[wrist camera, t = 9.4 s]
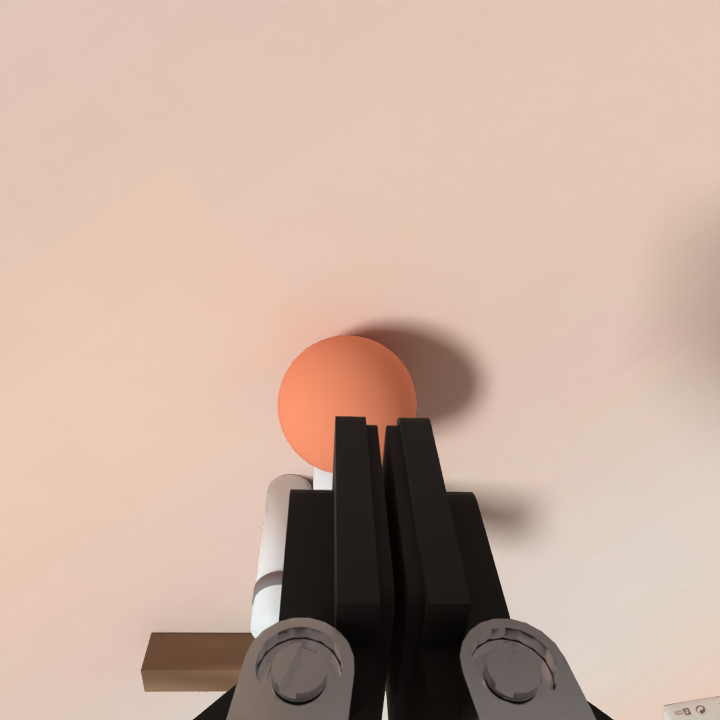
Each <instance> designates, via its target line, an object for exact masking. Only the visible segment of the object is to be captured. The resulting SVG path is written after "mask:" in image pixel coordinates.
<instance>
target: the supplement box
mask: <svg viewBox="0 0 720 720" xmlns="http://www.w3.org/2000/svg"><path fill="white" fill-rule="evenodd" d="M663 720H720V696H718V697H712V698H705V699H700V700H694V701H688V702H682V703H676V704H671V705H666V706H664V707H663Z"/></svg>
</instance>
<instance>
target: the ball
mask: <svg viewBox="0 0 720 720" xmlns="http://www.w3.org/2000/svg"><path fill="white" fill-rule="evenodd" d="M416 411H417V399H416V391H415V388H414V384H413V381H412V378H411V376H410V374H409V372H408V370H407V368H406V367H405V365H404V364H403V363H402V361H401V360H400V359H399V358H398V357H397V356H396V355H395V354H394V353H393V352H392V351H390V350H389V349H388V348H386V347H385V346H383V345H382V344H380V343H378V342H376V341H373V340H371V339H367V338H364V337H359V336H350V335H346V336H336V337H331V338H327V339H324V340H322V341H319V342H317V343H315V344H313V345H312V346H310V347H308V348H307V349H305V350H304V351H303V352H302V353H301V354H300V355H299V356H298V357H297V358H296V359H295V360H294V361H293V362H292V364H291V365H290V367H289V368H288V370H287V372H286V373H285V376H284V378H283V380H282V383H281V386H280V390H279V396H278V415H279V420H280V424H281V428H282V431H283V433H284V435H285V437H286V439H287V441H288V442H289V444H290V445H291V447H292V448H293V449H294V451H295V452H296V453H297V454H298V455H299V456H300V457H301V458H303V459H304V460H305V461H306V462H308V463H309V464H311V465H313V466H314V467H316V468H318V469H320V470H323V471H326V472H329V473H333V457H334V433H335V416H356V417H366V425H377V426H378V434H379V444H380V453H381V463H382V462H383V451H384V440H385V430H386V426H387V425H396V426H397V420H398V418H416Z"/></svg>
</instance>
